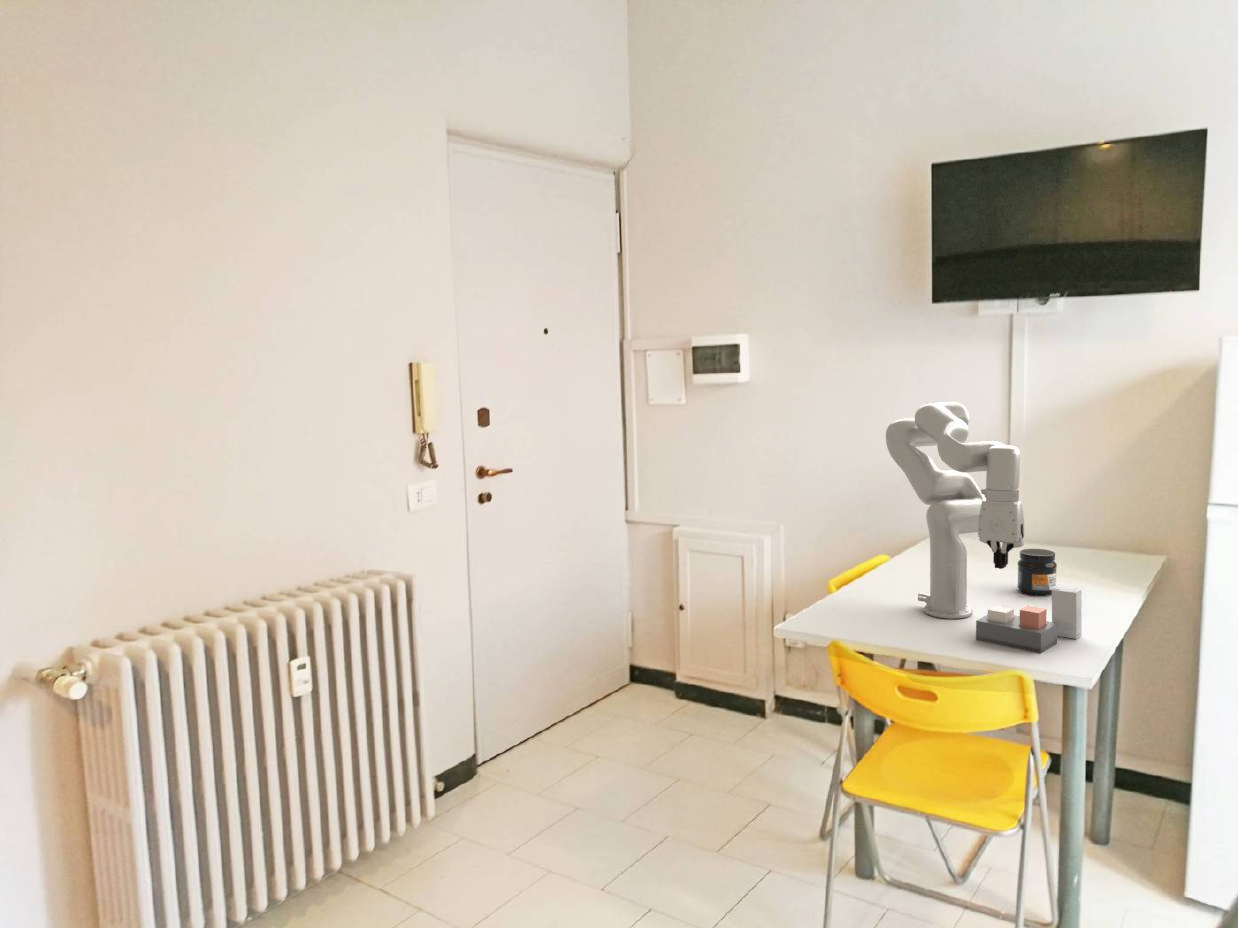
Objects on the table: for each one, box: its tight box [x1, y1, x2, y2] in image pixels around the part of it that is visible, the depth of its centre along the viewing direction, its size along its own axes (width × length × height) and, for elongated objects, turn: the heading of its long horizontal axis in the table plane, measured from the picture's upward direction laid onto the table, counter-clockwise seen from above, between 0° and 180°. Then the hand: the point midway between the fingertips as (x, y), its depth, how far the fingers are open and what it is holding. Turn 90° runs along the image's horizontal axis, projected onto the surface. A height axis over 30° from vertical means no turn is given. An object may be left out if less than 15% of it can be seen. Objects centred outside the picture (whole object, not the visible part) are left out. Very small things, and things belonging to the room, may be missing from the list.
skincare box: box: [1051, 585, 1083, 640], centre depth 231 cm, size 6×4×12 cm
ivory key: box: [987, 605, 1015, 623], centre depth 231 cm, size 5×5×4 cm
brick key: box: [1019, 605, 1047, 630], centre depth 225 cm, size 5×5×4 cm
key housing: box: [975, 614, 1058, 654], centre depth 229 cm, size 16×10×5 cm, turn 44°
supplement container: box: [1016, 548, 1058, 597], centre depth 270 cm, size 10×10×12 cm
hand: (1000, 567), depth 230 cm, fingers closed
